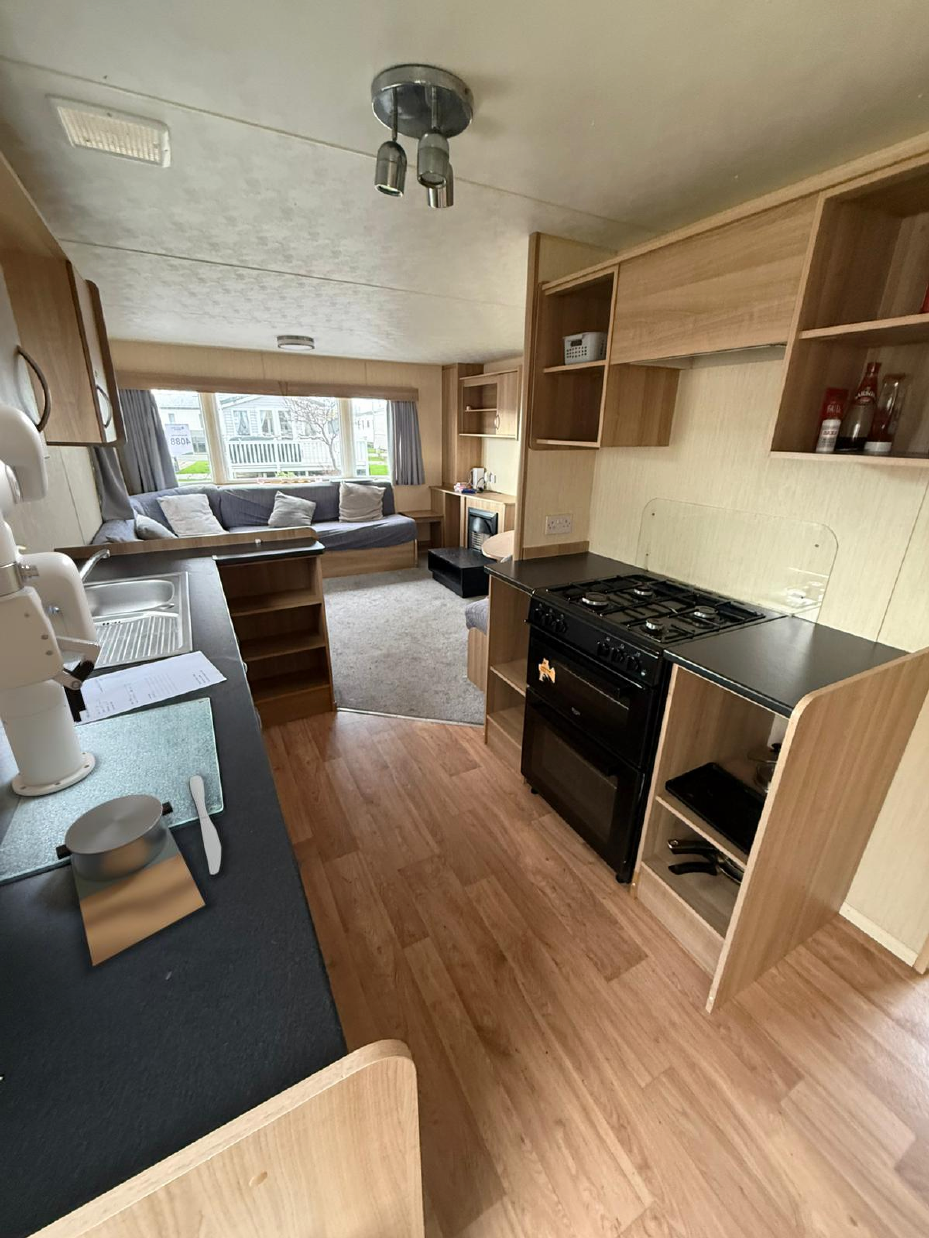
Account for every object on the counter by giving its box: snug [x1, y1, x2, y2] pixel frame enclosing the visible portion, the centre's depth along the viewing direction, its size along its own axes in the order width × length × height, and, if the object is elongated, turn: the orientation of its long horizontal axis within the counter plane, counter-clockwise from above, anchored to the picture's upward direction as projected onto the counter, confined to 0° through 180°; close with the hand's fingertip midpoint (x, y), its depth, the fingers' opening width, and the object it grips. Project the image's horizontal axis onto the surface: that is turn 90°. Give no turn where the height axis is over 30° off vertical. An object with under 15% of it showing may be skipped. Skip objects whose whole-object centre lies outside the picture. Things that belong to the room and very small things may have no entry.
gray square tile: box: [69, 816, 181, 902], centre depth 79 cm, size 12×13×1 cm
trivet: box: [78, 852, 206, 967], centre depth 70 cm, size 12×13×1 cm
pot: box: [55, 793, 174, 882], centre depth 78 cm, size 13×15×6 cm
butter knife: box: [189, 775, 222, 876], centre depth 86 cm, size 1×27×3 cm
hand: (23, 733), depth 56 cm, fingers open, 9 cm apart
